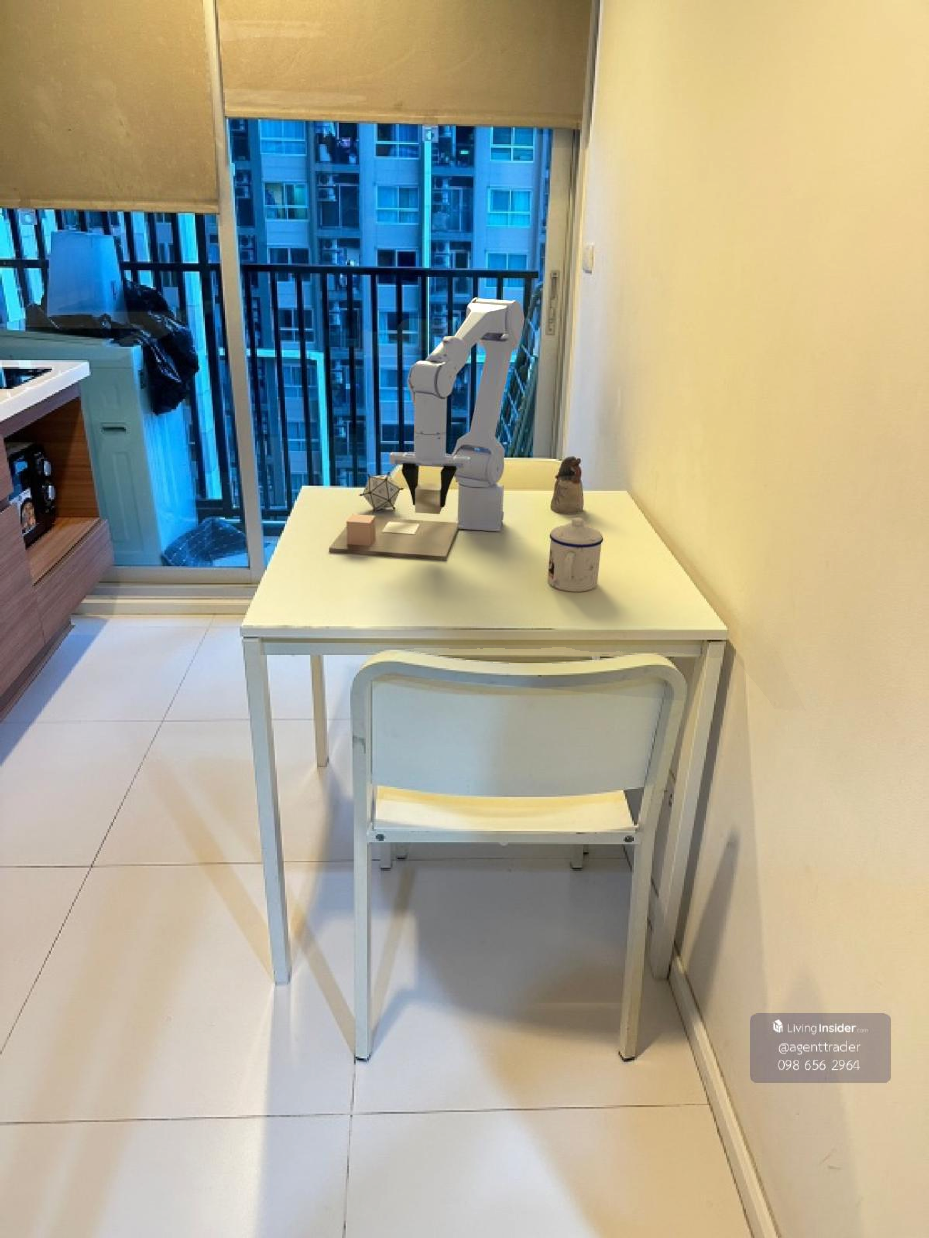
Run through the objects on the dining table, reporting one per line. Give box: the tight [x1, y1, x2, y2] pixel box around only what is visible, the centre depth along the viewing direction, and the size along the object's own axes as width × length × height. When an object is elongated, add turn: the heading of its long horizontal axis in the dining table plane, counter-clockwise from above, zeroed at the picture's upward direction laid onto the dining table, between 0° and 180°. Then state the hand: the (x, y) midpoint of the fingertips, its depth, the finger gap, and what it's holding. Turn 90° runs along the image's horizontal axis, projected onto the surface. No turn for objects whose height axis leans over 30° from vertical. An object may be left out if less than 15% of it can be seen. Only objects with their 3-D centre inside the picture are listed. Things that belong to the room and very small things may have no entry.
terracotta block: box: [345, 513, 376, 546], centre depth 158 cm, size 4×4×4 cm
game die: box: [358, 470, 405, 514], centre depth 178 cm, size 9×8×10 cm
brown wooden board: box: [328, 516, 459, 561], centre depth 163 cm, size 22×20×1 cm
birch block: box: [414, 481, 444, 515], centre depth 154 cm, size 4×4×4 cm
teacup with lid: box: [547, 517, 604, 593], centre depth 141 cm, size 12×9×12 cm
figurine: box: [549, 455, 585, 515], centre depth 182 cm, size 7×7×12 cm
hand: (429, 504), depth 154 cm, fingers closed on birch block, 4 cm apart
